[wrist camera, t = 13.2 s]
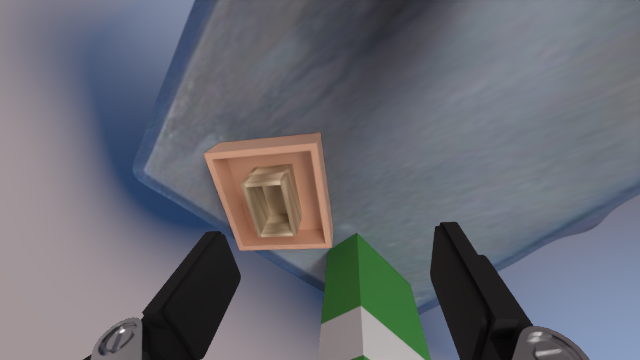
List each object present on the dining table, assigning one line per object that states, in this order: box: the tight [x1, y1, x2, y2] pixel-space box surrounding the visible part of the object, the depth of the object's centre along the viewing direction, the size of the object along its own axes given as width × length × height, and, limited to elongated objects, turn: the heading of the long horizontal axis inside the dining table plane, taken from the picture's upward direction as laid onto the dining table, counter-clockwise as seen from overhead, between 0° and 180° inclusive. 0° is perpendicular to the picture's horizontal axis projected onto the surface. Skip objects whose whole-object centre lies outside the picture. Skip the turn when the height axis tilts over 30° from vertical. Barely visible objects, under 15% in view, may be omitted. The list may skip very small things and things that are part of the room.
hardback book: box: [318, 233, 431, 360], centre depth 39 cm, size 18×7×24 cm, turn 43°
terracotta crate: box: [204, 133, 333, 250], centre depth 41 cm, size 17×19×5 cm
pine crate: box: [241, 164, 303, 237], centre depth 39 cm, size 6×10×6 cm, turn 8°
